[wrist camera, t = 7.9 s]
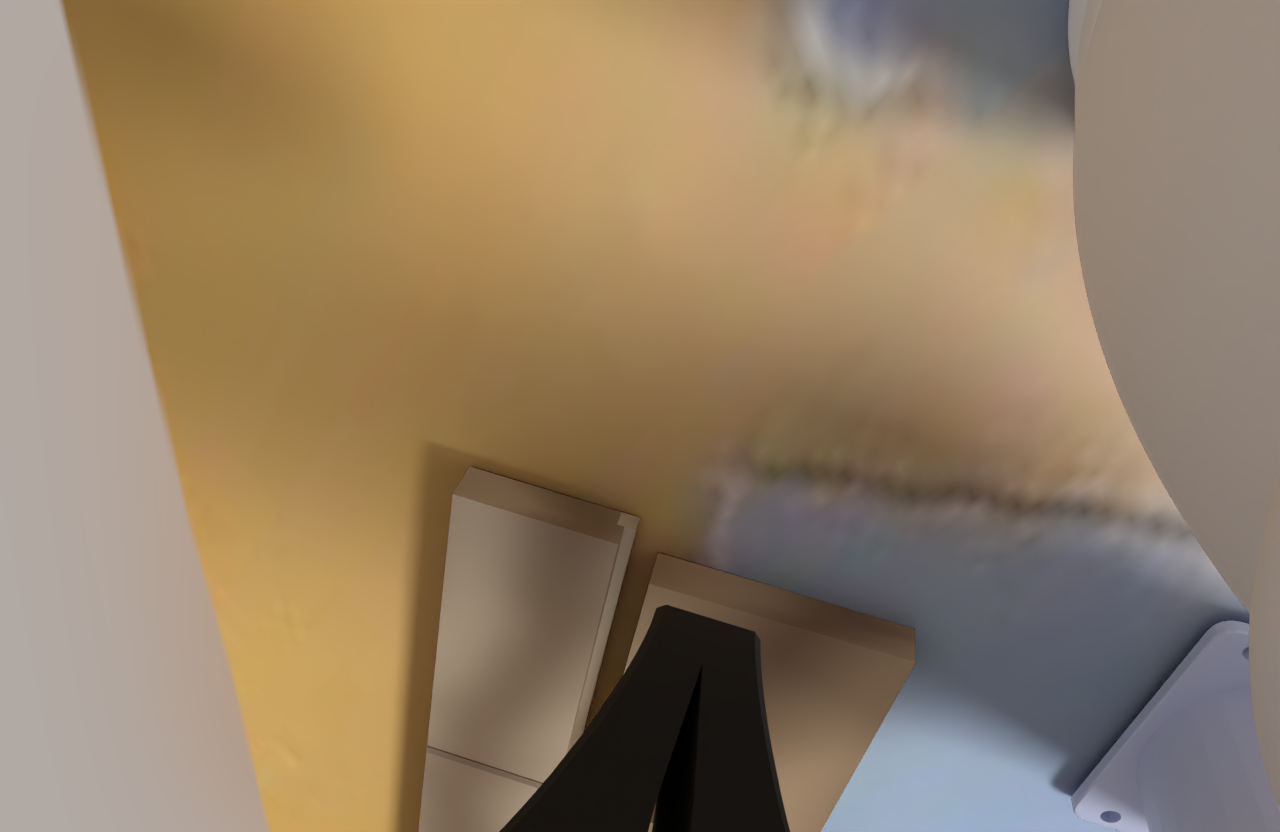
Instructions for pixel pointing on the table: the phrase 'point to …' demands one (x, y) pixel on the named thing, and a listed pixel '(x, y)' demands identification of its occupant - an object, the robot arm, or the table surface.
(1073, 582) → the table surface
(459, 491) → the laid board
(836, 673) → the plank
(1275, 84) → the jar
